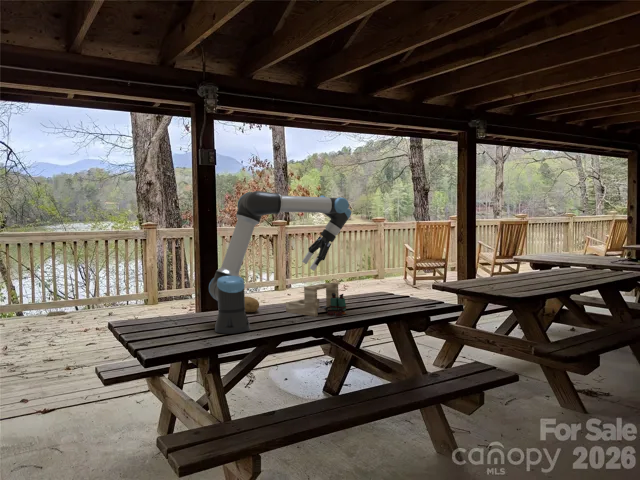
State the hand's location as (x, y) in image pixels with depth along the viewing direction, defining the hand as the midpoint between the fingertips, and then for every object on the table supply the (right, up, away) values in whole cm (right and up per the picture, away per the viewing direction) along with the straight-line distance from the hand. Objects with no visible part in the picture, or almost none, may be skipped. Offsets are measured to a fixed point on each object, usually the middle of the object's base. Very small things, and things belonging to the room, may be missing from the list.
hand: (307, 266), depth 244 cm
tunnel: (+2, -24, 0) cm, 24 cm away
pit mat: (+12, -23, +10) cm, 28 cm away
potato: (-30, -25, +3) cm, 39 cm away
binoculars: (+14, -24, -11) cm, 30 cm away
